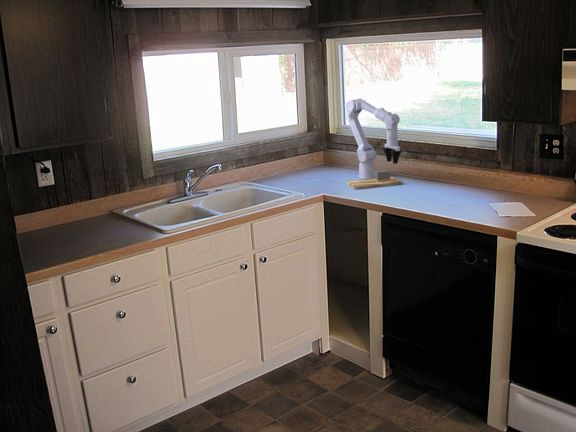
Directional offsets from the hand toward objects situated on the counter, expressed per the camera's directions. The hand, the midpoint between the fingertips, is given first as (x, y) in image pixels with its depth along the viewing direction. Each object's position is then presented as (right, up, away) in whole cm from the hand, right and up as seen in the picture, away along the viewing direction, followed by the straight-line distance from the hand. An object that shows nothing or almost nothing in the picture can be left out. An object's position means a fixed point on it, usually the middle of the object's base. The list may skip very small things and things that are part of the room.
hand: (392, 162), depth 337 cm
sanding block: (-6, -10, -3) cm, 12 cm away
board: (-10, -12, -4) cm, 16 cm away
